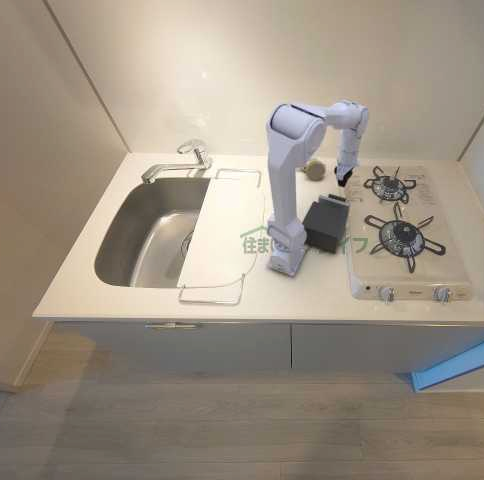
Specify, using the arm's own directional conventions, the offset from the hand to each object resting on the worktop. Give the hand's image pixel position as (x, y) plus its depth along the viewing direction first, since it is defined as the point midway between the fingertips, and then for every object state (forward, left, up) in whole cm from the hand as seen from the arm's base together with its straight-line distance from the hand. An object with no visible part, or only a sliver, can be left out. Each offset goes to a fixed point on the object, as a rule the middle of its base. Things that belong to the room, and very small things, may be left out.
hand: (343, 182), depth 86 cm
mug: (+11, +14, -10) cm, 21 cm away
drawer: (-9, +1, -8) cm, 13 cm away
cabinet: (-16, 0, -9) cm, 19 cm away
